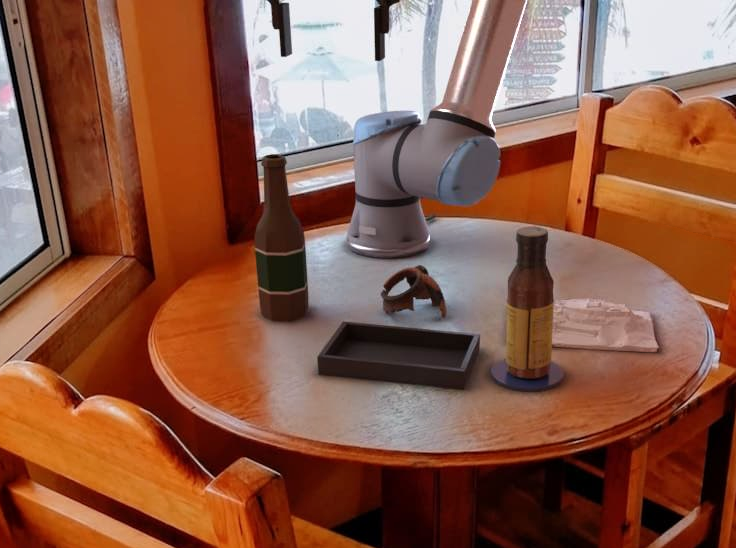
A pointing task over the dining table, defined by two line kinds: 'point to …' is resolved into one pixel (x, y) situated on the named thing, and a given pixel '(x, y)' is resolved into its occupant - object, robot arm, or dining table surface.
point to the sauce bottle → (530, 307)
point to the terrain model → (601, 326)
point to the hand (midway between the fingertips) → (332, 57)
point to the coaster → (527, 385)
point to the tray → (400, 355)
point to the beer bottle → (280, 249)
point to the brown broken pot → (412, 290)
